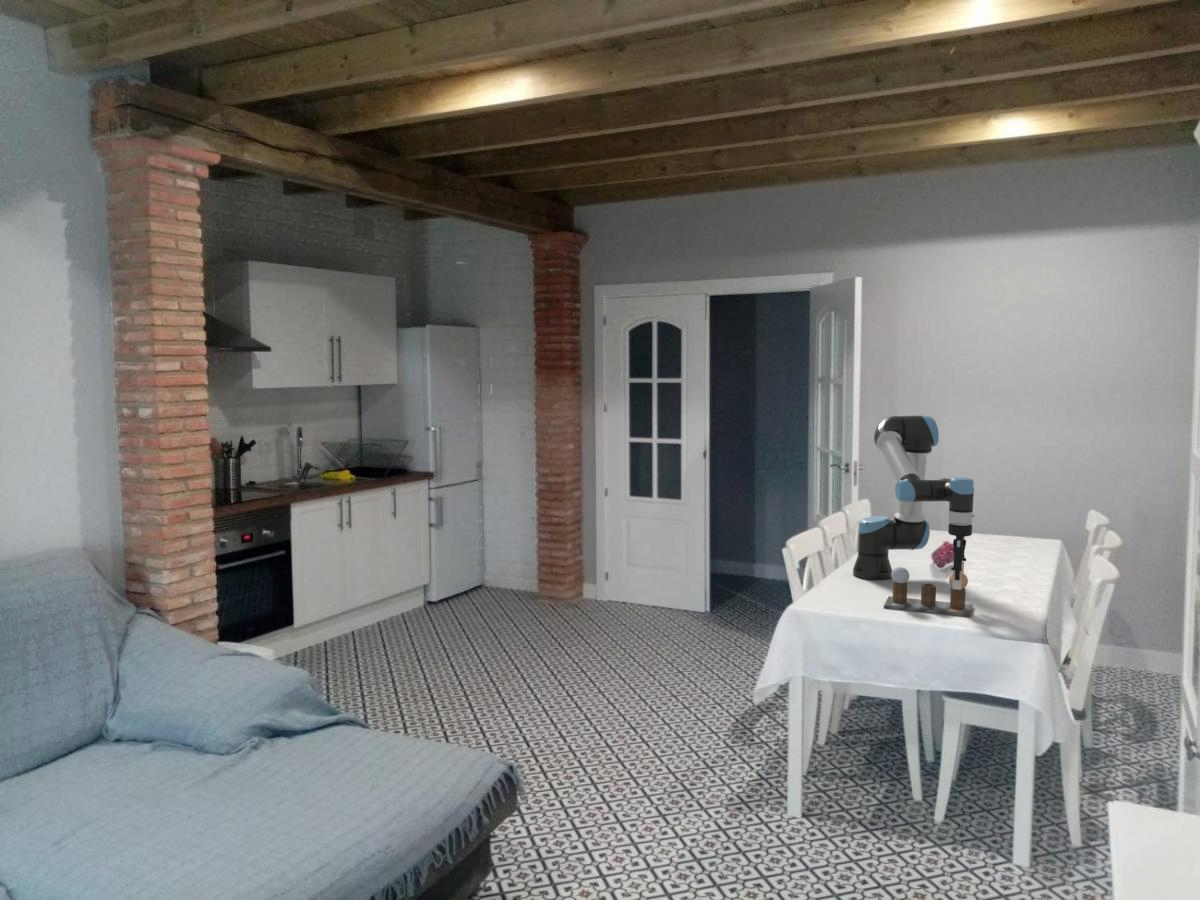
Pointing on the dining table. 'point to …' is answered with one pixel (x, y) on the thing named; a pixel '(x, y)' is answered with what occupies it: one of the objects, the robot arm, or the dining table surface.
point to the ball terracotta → (964, 581)
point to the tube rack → (929, 601)
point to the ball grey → (900, 575)
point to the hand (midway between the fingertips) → (958, 584)
